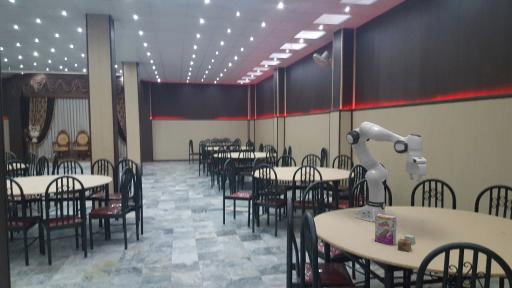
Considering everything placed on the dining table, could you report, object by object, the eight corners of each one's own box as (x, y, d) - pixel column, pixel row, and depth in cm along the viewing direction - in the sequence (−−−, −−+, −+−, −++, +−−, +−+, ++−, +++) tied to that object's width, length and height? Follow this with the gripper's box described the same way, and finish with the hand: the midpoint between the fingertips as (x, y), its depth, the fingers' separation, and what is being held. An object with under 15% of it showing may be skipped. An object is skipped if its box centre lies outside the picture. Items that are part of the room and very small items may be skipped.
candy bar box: (374, 241, 211) (375, 215, 211) (378, 239, 215) (378, 213, 214) (393, 245, 204) (393, 218, 203) (396, 243, 208) (396, 216, 207)
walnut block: (397, 250, 197) (397, 241, 197) (400, 246, 202) (400, 238, 202) (409, 252, 193) (409, 243, 193) (411, 248, 198) (411, 240, 198)
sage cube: (404, 243, 208) (404, 235, 208) (407, 241, 211) (407, 234, 211) (412, 245, 205) (412, 237, 205) (414, 243, 208) (415, 235, 208)
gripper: (402, 158, 231) (403, 178, 232) (418, 160, 211) (418, 183, 211) (412, 158, 231) (412, 178, 232) (428, 160, 211) (428, 183, 212)
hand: (415, 180), depth 222 cm, fingers open, 8 cm apart
